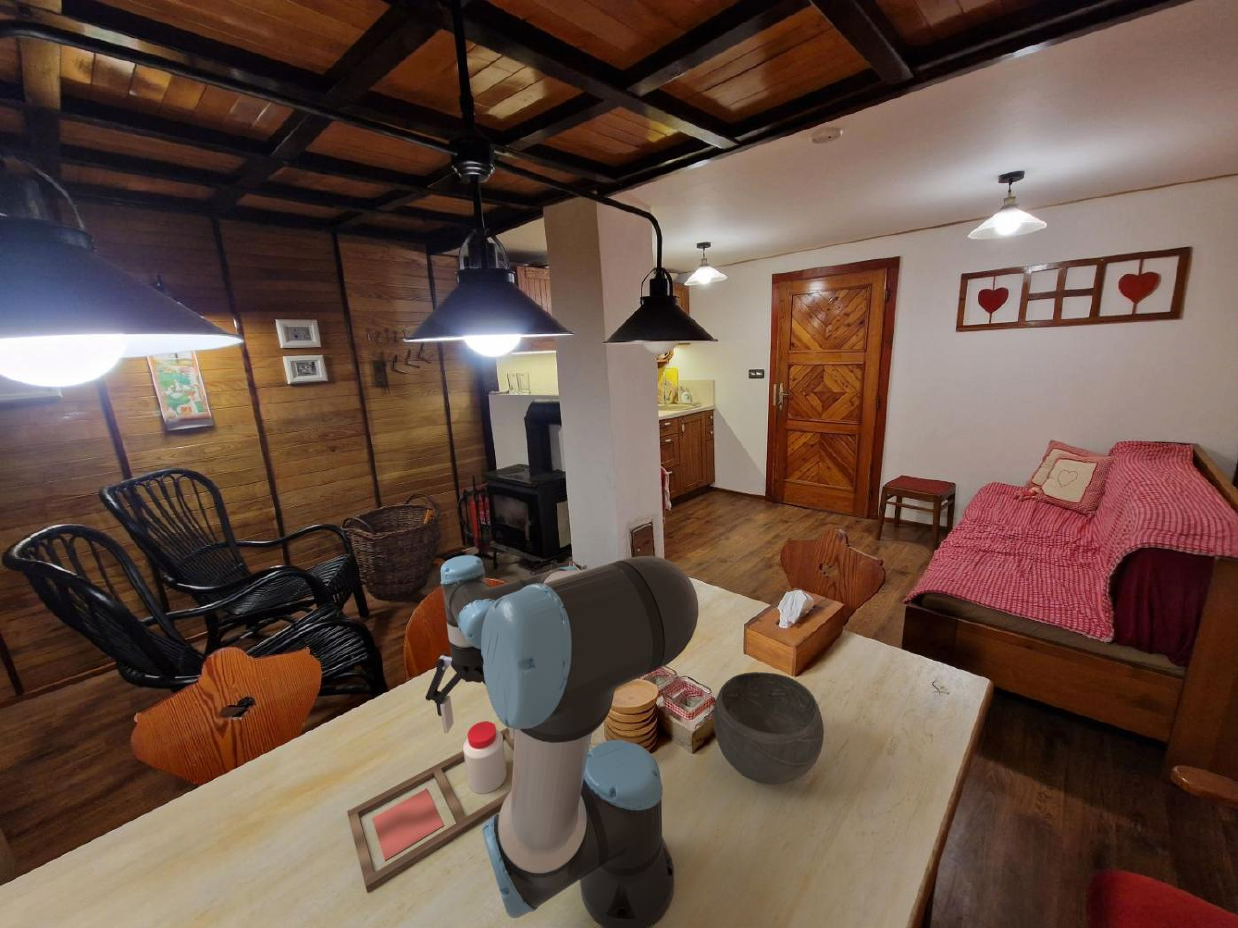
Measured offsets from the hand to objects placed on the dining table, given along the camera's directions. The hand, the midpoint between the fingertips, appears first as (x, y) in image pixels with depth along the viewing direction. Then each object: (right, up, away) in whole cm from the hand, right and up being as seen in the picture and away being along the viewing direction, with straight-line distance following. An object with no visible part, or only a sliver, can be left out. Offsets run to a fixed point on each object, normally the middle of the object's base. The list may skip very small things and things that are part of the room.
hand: (481, 730), depth 98 cm
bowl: (+57, -8, +3) cm, 58 cm away
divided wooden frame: (-5, -12, -2) cm, 13 cm away
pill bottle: (+1, -11, +2) cm, 11 cm away
